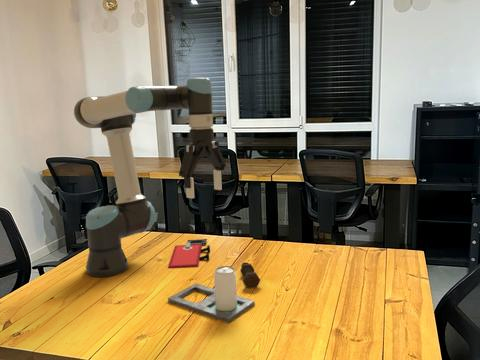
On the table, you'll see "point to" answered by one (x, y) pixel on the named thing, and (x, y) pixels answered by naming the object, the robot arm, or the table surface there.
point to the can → (225, 288)
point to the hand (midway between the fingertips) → (204, 193)
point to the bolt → (249, 276)
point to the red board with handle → (189, 254)
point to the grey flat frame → (209, 303)
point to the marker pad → (225, 312)
